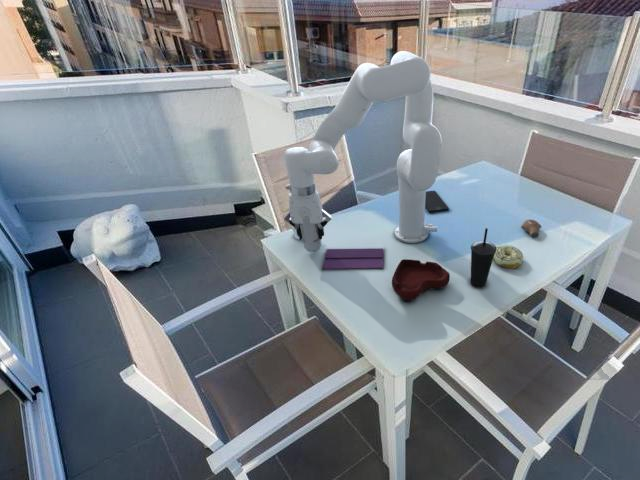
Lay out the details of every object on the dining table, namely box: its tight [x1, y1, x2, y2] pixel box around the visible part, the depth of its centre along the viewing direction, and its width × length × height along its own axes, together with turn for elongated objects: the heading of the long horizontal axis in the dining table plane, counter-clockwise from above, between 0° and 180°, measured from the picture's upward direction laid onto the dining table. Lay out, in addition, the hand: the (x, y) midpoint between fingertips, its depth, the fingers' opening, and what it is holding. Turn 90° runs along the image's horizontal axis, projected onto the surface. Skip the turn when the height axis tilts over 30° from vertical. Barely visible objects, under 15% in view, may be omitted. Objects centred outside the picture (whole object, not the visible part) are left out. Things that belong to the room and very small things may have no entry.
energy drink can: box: [300, 216, 322, 253], centre depth 130 cm, size 6×6×15 cm
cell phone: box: [425, 190, 450, 214], centre depth 166 cm, size 9×18×1 cm, turn 17°
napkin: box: [322, 248, 384, 270], centre depth 132 cm, size 20×11×1 cm, turn 92°
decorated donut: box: [493, 244, 524, 270], centre depth 132 cm, size 10×11×4 cm
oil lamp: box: [520, 218, 542, 238], centre depth 147 cm, size 9×4×8 cm
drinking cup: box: [470, 227, 497, 289], centre depth 117 cm, size 8×8×20 cm
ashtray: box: [391, 258, 451, 303], centre depth 120 cm, size 18×16×5 cm
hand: (311, 237), depth 132 cm, fingers closed on energy drink can, 6 cm apart
